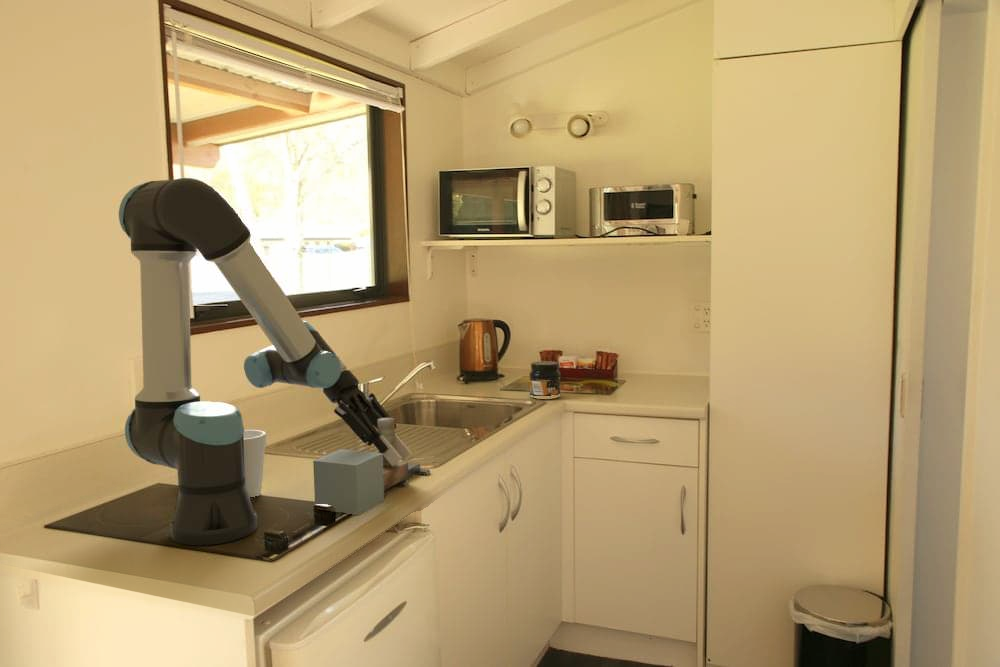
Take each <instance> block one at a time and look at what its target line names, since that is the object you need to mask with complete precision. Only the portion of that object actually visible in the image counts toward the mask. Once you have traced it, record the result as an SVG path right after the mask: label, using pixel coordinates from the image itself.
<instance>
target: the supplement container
mask: <svg viewBox="0 0 1000 667" xmlns="http://www.w3.org/2000/svg"><path fill="white" fill-rule="evenodd" d="M530 369H531V370H530V371H529V375H528V376H529V396H530V395H533V396H551V395H558V394H560V395H561V372H560V370H559V369H560V363H559V362H557V361H551V360H550V361H547V360H546V361H545V360H544V361H543V360H541V361H540V360H539V361H534V362H531V363H530Z"/></svg>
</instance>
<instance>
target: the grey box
mask: <svg viewBox="0 0 1000 667" xmlns="http://www.w3.org/2000/svg"><path fill="white" fill-rule="evenodd" d="M312 462H313V463H312V466H313V486H314V490H313V491H314V505H315V504H328V505H333V506H334V507H335V508H336V509H337V511H338V512H345V513H350V514H352V515H351V516H360V515H362V514H363V513H365V512H367V511H369V510H370V509H372V508H374V507H376V506H378V505H380V504H382V503H384V502H385V498H384V493H385V491H384V482H383V453H379V452H375V451H374V452H372V451H361V450H352V449H343V448H342V449H341V448H340V449H339V450H336V451H333V452H331V453H329V454H326V455H324V456H321V457H319V458H316V459H314V460H313V461H312Z"/></svg>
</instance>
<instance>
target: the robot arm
mask: <svg viewBox="0 0 1000 667" xmlns="http://www.w3.org/2000/svg"><path fill="white" fill-rule="evenodd" d="M118 221H119V224H120V226H121V229H122V231H123V232H124V233H125V234H126V236H127V237H128V239H130V253H131V254H132V255H133V256H134V257H135V258H136V259H137V260H138V261H139V265H140V266H139V267H140V300H141V301H140V302H141V303H140V304H141V306H140V307H141V340H142V344H141V345H142V376H143V377H142V382H143V383H142V384H143V385H142V386H143V387H142V389H141V390H140V391H139V392H138V393H137V394H136V395H135V396H134V406H135V407H134V408H133V409H132V411H131V414H130V415H128V416H127V419H126V422H125V426H124V435H125V436H124V437H125V440H126V443H127V445H128V447H129V449H130V451H132V453H134V455H135V456H137V457H138V458H140V459H142V460H145V461H146V462H148V463H149V464H150V463H151V464H153V465H157V466H163V467H167V468H170V469H175V470H177V484H178V485H177V487H178V496H177V501H176V503H175V506H174V510H173V511H174V512H173V517H172V520H170V530H169V532H170V538H171V540H172V541H173V542H175V543H178V544H182V545H187V546H188V545H189V546H211V545H218V544H219V545H220V544H224V543H229V542H233V541H236V540H241V539H243V538H246V537H247V536H249V535H251V534H253V533H254V532H255V531H256V530H257V529H258V514H257V512H256V510H255V509H254V507H253V504H252V501H251V498H250V497H249V494H248V492H247V489H246V483H245V460H244V436H243V435H244V430H245V426H244V424H243V415H242V412H241V411H240V409H238V408H237V407H236V406H235V405H232V404H229V403H226V402H220V401H215V402H213V401H212V400H211V401H209V400H206V401H201V393H200V392H199V391H198V390H197V389H195V388H194V386H192V352H191V351H192V349H191V347H192V345H191V306H190V305H191V304H190V301H191V300H190V297H191V296H190V261H192V259H194V257H195V256H196V255H197V254H198V252H199V253H200V255H202V257H203V259H204V260H205V261H207V262H211V263H214V264H215V266H216V267H217V268H218V270H219V271H220V273H221V274H222V275H223V277H224V278H225V280H226V281H227V282H228V284H229V285H230V287H231V288H232V289H233V291H234V292H235V293H236V295H237V296H238V298H239V300H241V302H242V304H243V305H244V307H245V308H246V310H248V312H249V313H250V315H251V317H253V318H252V319H254V321H255V322H256V324H258V327H260V329H261V331H262V332H263V333H264V335H265V336H266V337H267V339H268V341H269V342H270V344H272V345H270V346H268V347H265V348H262V349H259V350H257V351H255V352H253V353H252V354H250V355H248V356H247V357H246V358H245V359H244V362H243V370H244V373H245V374H244V375H245V377H246V379H247V380H248V382H249V383H250V384H251V386H253V387H255V388H256V389H257V388H258V389H264V388H266V387H270V386H272V385H273V384H275V383H281V384H289V385H295V386H296V385H297V386H302V387H307V388H308V387H309V388H311V389H318V388H319V390H322V392H323V394H324V395H325V396H326V397H327V399H328V400H329V402H331V404H337V407H335V409H334V410H333V412H334V414H336V415H337V416H338V417H340V418H341V419H342V420H343V421H344V422H345V424H347V426H348V427H349V428H350V429H351V431H352V432H354V433H355V435H356V436H357V437H358V438H359V439H360V440H361V441H362V442H363V443H364V444H366V445H367V446H372V445H374V446H375V448H377V450H379V451H380V452H381V453H383V455H384V457H385V458H386V459H387V460H388V461H389V463H390V464H391V465H392V466H395V465H396V464H397V462H400V461H401V462H406V460H407V459H408V458H409V457H410V456H411V455H412V454H413V452H412V451H411V450H410V449H409V447H408V446H407V445H406V444H405V442H403V440H402V439H401V438H400V437H399V436H398V434H397V433H396V432H395V449H394V448H393V446H392V445H391V444H390V443H389V442H388V440H387V439H386V438H385V437H384V436H383V435H381V436H380V435H379V433H378V419H380V418H392V417H391V416H390V414H389V413H388V412H387V411H386V410H385V408H384V407H383V406H382V404H380V402H379V401H378V399H377V397H376V395H375V394H374V393H372V392H371V393H369V395H368V394H365V393H364V391H362V390H361V389H359V379H358V378H357V377H356V375H354V373H353V372H352V371H351V370H349V369H348V367H347V366H346V364H345V363H344V362H343V361H342V360H341V359H340V357H339V356H338V355H337V354H336V352H335V351H334V350H333V349H332V348H331V347H330V345H329V344H328V343H327V342H326V340H325V339H324V337H322V335H320V333H319V331H318V330H316V328H314V327H313V326H312V325H311V323H309V322H308V321H306V320H303V319H302V318H301V316H300V314H299V313H298V312H297V310H296V308H295V307H294V305H293V304H292V302H291V301H290V300H289V298H288V297H287V295H286V293H285V292H284V290H283V289H282V287H281V285H280V284H279V283H278V281H277V280H276V278H275V276H274V275H273V273H272V272H271V271H270V269H269V267H268V266H267V265H266V263H265V262H264V260H263V259H262V257H261V256H260V254H259V252H258V250H256V248H255V246H254V244H253V243H252V242H251V236H252V232H251V230H250V228H249V227H248V226H247V223H246V222H245V221H244V220H243V218H242V216H241V215H240V214H239V213H238V211H237V210H236V209H235V207H234V206H233V205H232V204H231V203H230V201H229V200H228V199H227V198H225V196H224V195H223V194H221V192H219V191H218V190H217V189H216V188H215V187H213V186H211V185H209V184H208V183H207V182H204V181H203V180H200V179H196V178H191V177H182V178H176V179H165V180H164V179H162V180H160V179H159V180H149V181H147V182H144V183H141V184H138V185H136V186H134V187H132V188H131V189H130V190H128V192H127V193H126V194H125V195H124V196H123V197H122V200H121V202H120V205H119V208H118ZM394 426H395V430H396V429H397V424H396V422H395V421H394ZM379 436H380V437H379ZM379 451H378V452H379Z"/></svg>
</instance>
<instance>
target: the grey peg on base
mask: <svg viewBox="0 0 1000 667" xmlns="http://www.w3.org/2000/svg"><path fill="white" fill-rule="evenodd" d="M394 422H395V418H394V417H391V418H380V419H378V429H377V432H378V433H379V435H380V436H381V435H383V436H384V437H385V438H386V439H387V440H388V442H389V443H390V444H391V445H392V446H393V448H394V449H395V433H396V431H395V430H396V429H395V426H394ZM380 436H379V437H380ZM377 450H378V449H377ZM378 453H381V452H380V451H379V450H378ZM406 474H408V462H407V461H398V462H397V464H396V465H395V466H392V465H391V464H390V463H389V461H388V460H387V459H386V458H385V457H384V455H383V482H384V490H385V489H387V488H389V487H391V486H393V485H395V484H397V483H399V482H400V481H402V480H404V479H406ZM406 480H407V479H406ZM404 481H405V480H404ZM393 487H394V486H393ZM391 488H392V487H391Z"/></svg>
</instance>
